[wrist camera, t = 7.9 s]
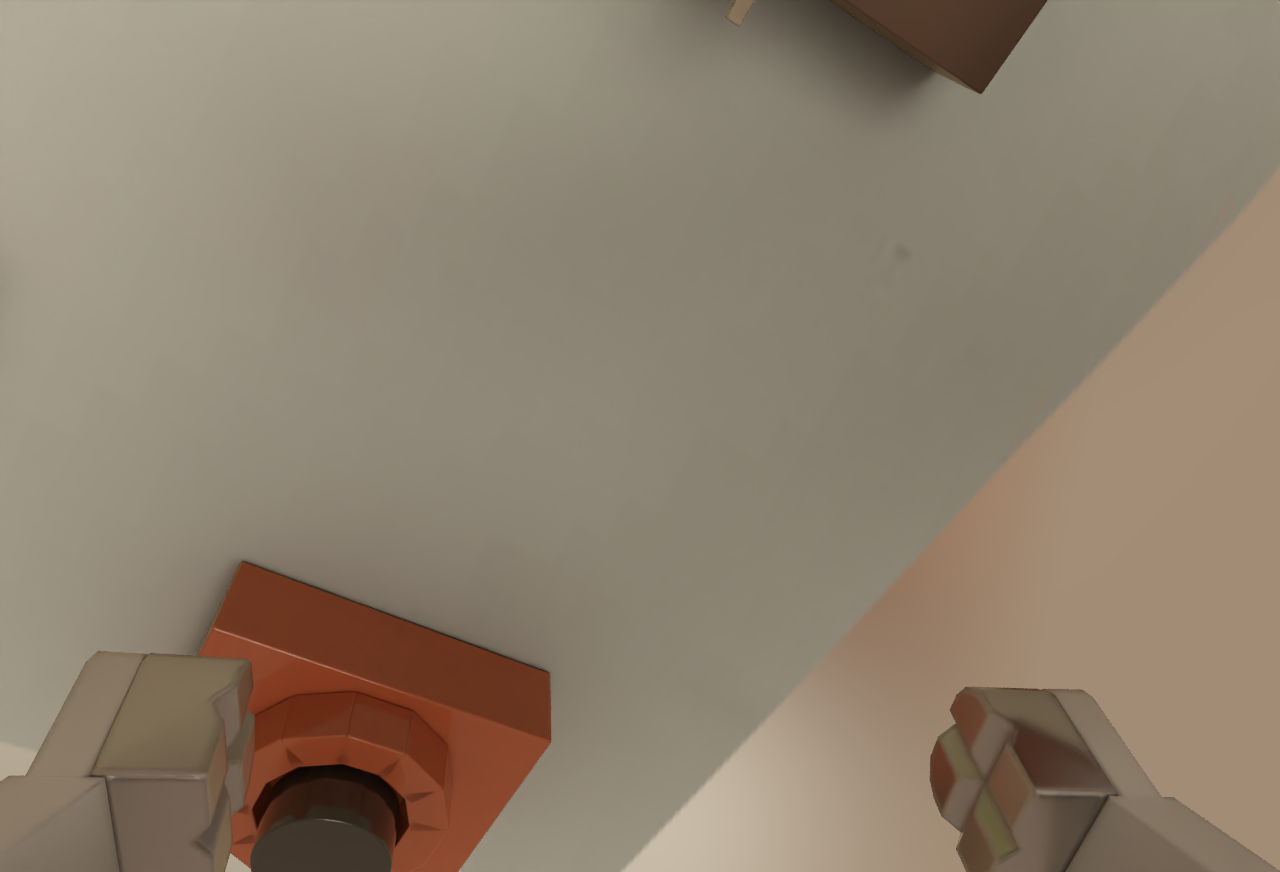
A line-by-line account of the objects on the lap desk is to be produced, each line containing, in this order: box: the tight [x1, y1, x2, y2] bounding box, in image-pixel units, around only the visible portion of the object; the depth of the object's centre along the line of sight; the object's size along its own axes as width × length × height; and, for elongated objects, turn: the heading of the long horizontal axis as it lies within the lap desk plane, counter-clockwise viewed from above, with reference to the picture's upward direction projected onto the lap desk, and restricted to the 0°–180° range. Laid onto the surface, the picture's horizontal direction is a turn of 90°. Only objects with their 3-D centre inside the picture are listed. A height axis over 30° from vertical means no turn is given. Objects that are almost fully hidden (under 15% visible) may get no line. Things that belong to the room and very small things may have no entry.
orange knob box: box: [196, 562, 551, 872], centre depth 32 cm, size 11×8×5 cm
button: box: [250, 764, 400, 872], centre depth 29 cm, size 4×4×2 cm
